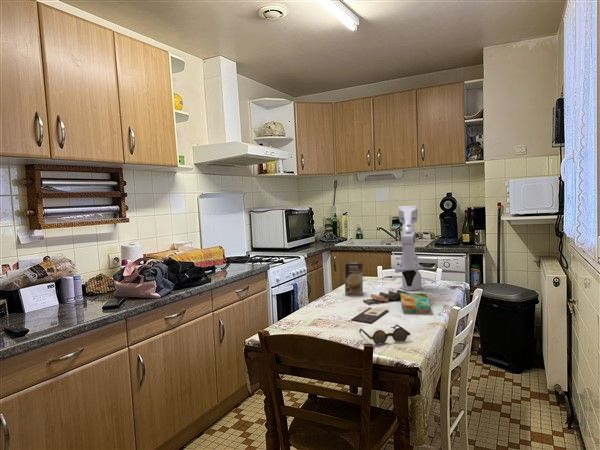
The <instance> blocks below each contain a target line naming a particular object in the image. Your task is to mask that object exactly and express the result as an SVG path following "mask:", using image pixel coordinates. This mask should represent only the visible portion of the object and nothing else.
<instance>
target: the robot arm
mask: <svg viewBox="0 0 600 450" xmlns="http://www.w3.org/2000/svg"><path fill="white" fill-rule="evenodd" d="M418 208H419V207H418V205H399V206H398V219H399V222H400V223H402V224H403V225H402V230H401V231H402V234H401V235H400V236H401V248H402V249H401V250H402V254H401V255H400V257H399V261H398V262H399V267H395V268H394V272H395V274H399V273H401V276H402V277H401V279H402V280H401V282H402V286H398V288H400V289H401V290H403V291H406V292H408V291H415V290H423V286H422V283H423V281H422V273H421V272H420V271H423V270H424V266H423V265H420V262H419V260H420V259H419V256H418V255H417V254H416V252H415V249H416V248H415V246H416V244H417V242H416V232H415V225H414V224H415V223H417V222H418V220H419V219H418V218H419V213H418V212H419V209H418Z"/></svg>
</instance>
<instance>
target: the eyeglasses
mask: <svg viewBox="0 0 600 450" xmlns="http://www.w3.org/2000/svg"><path fill="white" fill-rule="evenodd" d="M390 328H392V329H394V330H393V331H392V332H388V333H386V332H385V331H384V330H381V329H378V330H376V331H374V332H373V334H372V336H370V335H369V334H368V333H367V332H366V331H365V330H364V329H362V328H359V329H358V330H359V331H358V332H359V333H361V332H363V334H364V335H365V336H366V337H367V338H368V339H369V340H372V341H373V343H374V344H375V345H380V344H379V343H382V344H385V343H386V342H387V340H388V337H392V339H393V341H394V342H396V341H398V342H405V341H406V340H407V338H408V336H411V332H409V331H408V330H407V329H405V328H403V327H402V326H401V325H399V324H395V325H394V326H390Z"/></svg>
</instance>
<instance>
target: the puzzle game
mask: <svg viewBox="0 0 600 450" xmlns="http://www.w3.org/2000/svg"><path fill="white" fill-rule="evenodd" d="M400 296H401V298H400V303H401V309H402V311H403V313H404V314H407V313H408V314H409V313H410V314H428V313H429V312H430V311H431V308H432V307H431V302H430V300H429V298H428V295H427V293H421V292H420V293H415V292H414V293H412V292H408V293H400Z"/></svg>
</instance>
